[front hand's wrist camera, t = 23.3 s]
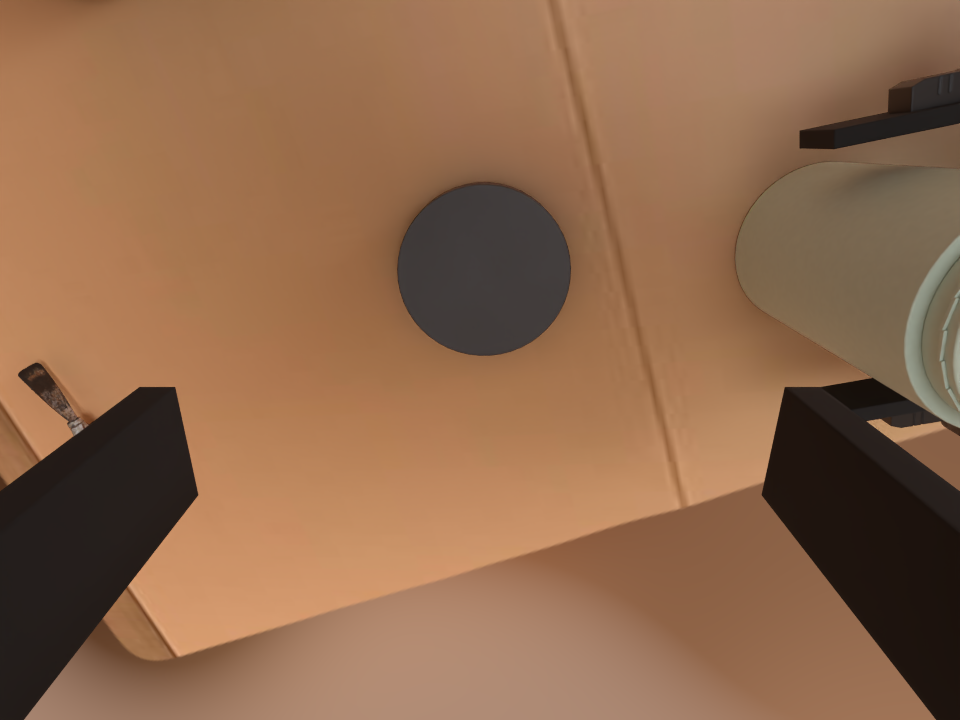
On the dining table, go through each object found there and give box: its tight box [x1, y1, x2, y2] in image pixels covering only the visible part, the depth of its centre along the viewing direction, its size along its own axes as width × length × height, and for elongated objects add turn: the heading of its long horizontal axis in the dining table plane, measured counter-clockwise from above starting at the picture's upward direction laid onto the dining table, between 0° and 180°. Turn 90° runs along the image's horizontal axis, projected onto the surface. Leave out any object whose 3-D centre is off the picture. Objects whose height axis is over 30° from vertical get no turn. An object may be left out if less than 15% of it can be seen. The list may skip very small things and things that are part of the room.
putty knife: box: [18, 363, 89, 436], centre depth 36 cm, size 1×8×2 cm, turn 28°
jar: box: [735, 162, 960, 428], centre depth 25 cm, size 9×9×16 cm
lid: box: [397, 182, 571, 356], centre depth 32 cm, size 10×10×2 cm
